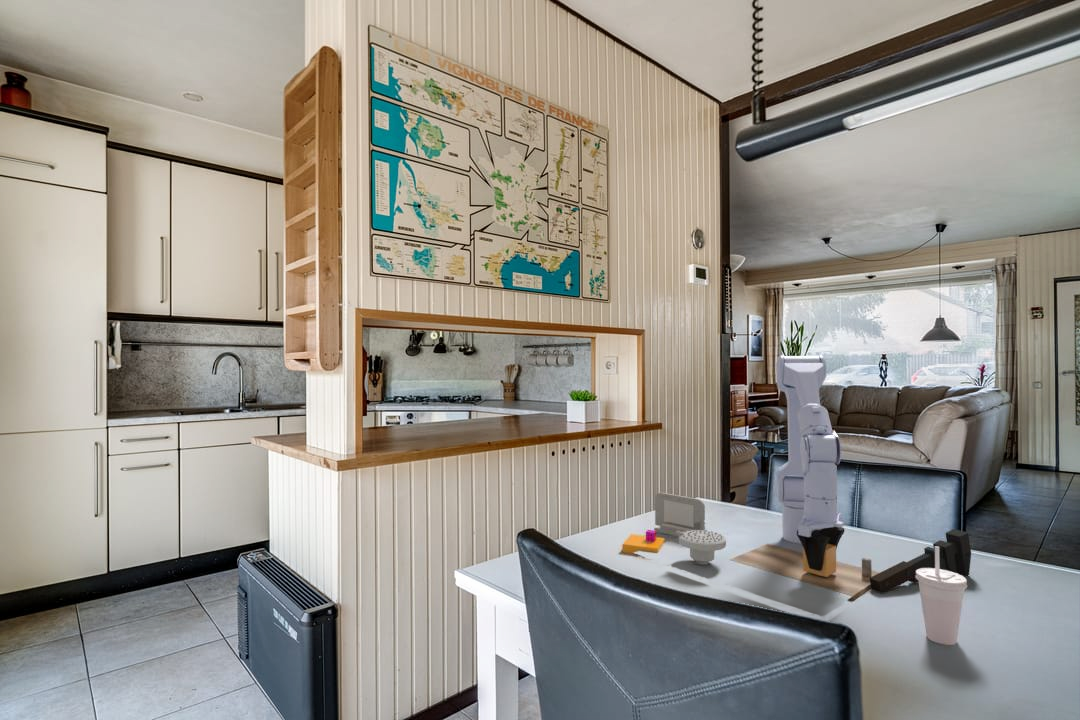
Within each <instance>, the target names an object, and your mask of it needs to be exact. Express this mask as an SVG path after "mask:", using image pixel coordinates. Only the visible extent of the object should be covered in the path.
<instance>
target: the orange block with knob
mask: <svg viewBox="0 0 1080 720" xmlns="http://www.w3.org/2000/svg"><path fill="white" fill-rule="evenodd" d="M665 543H666V538H665V537H660V536H659V537H658V536H657V532H656V531H655V530H654V529H653V530H652V529H647V530H646V531H645V535H642V534H634V533H633V534H632V533H630V535H629V536H628V537H627V538H626V539H625V541H624V542H623V543H622V544H621V545H622V547H621V548H622V549H621V550H622V551H621V552H622V553H625V554H631V555H632V554H634V555H636V552H639V551H644V552H652V553H659V552H660V551H661V549H662V547H663V545H664V544H665Z"/></svg>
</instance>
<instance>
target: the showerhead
mask: <svg viewBox="0 0 1080 720" xmlns="http://www.w3.org/2000/svg"><path fill="white" fill-rule="evenodd" d="M676 534H678V535H679V537H678V544H679V545H681V546H683V547H684V548H687V549H689V557H690V558H691V559H692V560H693V561H696V563H697V564H699V565H707V564H708V563H709V562H713V560H715V551H721V550H723V549H725V548H726V547H727V538H726V537H725V536H724V535H722V534H721V533H718V532H714V531H712V530H708V529H705V531H703V530H695V529H694V530H689V531H684V532H680V531H676Z"/></svg>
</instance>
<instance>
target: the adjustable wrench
mask: <svg viewBox="0 0 1080 720" xmlns="http://www.w3.org/2000/svg"><path fill="white" fill-rule="evenodd" d="M945 538H946V541H944V540H938V541H936V542H934V543H933V544H932V546H933V547H931V546H926V547H924V548H923V549H924V553H923V554H920V555H919V556H916V557H914V558H912V559H910V560H908V561H904V560H903V561H901V562H899V563H897V564H895V565H893V566H891V567H889V568H887V569H884V570H882V571H881V572H880V571H879V572H880V573H878V574H876V575H874V576H872V577H870V584H871V590H872V591H873V592H877V593H879V594H885V593H887V592H890V591H892V590H894V589H896V588H897V587H899V586H901V585H904V584H905V583H907V582H911V583H913V584H916V583H919V581H918V580H917V579H916V570H918V569H921V568H935V546H938V547H939V567H940V569H942V570H947V571H951V572H954V573H958V574H959V575H960V574H961V576H963V575H964V576H963V577H966V576H967V577H969V576H970V568H971V558H972V550H971V543H970V535H969V532H968V531H963V530H959V529H956V528H952V529H950V530H949V531H946V532H945ZM968 575H969V576H968Z"/></svg>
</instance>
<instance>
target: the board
mask: <svg viewBox="0 0 1080 720" xmlns="http://www.w3.org/2000/svg"><path fill="white" fill-rule="evenodd" d="M729 561H732V562H736V563H740V564H742V565H745V566H746V565H747V566H749V567H753V568H757V569H759V570H763V571H765V572H770V573H773V574H776V575H779V576H783V577H786V578H790V579H793V580H797V581H800V582H804V583H807V584H811V585H813V586H817V587H820V588H824V589H828V590H830V591H833V592H838V593H841V594H844V595H848V596H851V597H849V598H848V599H847V601H849V602H855V601H856V600H857V599H859V598H861V597H862V596H863V595H865V594H866V593H868V592H869V591H871V590H872V589H871V584H870V577H872V576H874V575H876V574H878V573H880V571H876V570H873V569H872V559H871V558H868V557H862V558H861V567H860V566H856V565H853V564H848V563H846V562H842V561H838V560H836V572H835V573H833V574H831V575H829V576H828V577H824V576H821V575H817V574H814V573H810V572H806V571H803V551H802V552H801V551H799V550H794V549H790V548H786V547H782V546H778V545H776V544H770V543H766V544H763V545H761V546H759V547H756V548H754V549H752V550H749V551H747V552H744V553H742V554H740V555H737V556H735V557H733V558H730V559H729Z"/></svg>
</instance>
